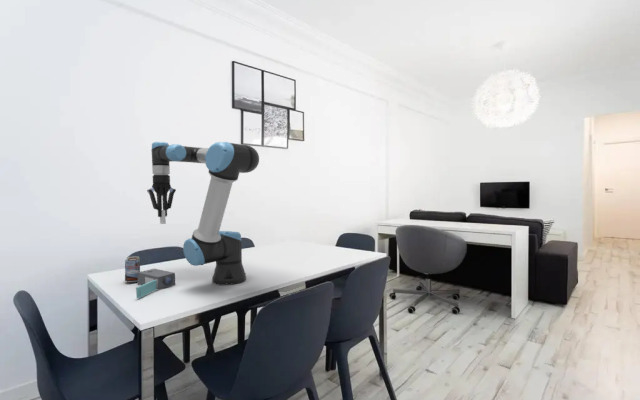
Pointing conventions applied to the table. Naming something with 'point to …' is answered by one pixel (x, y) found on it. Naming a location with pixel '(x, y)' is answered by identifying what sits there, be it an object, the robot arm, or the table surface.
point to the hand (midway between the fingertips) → (162, 223)
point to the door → (147, 288)
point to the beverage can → (132, 269)
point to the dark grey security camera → (163, 278)
